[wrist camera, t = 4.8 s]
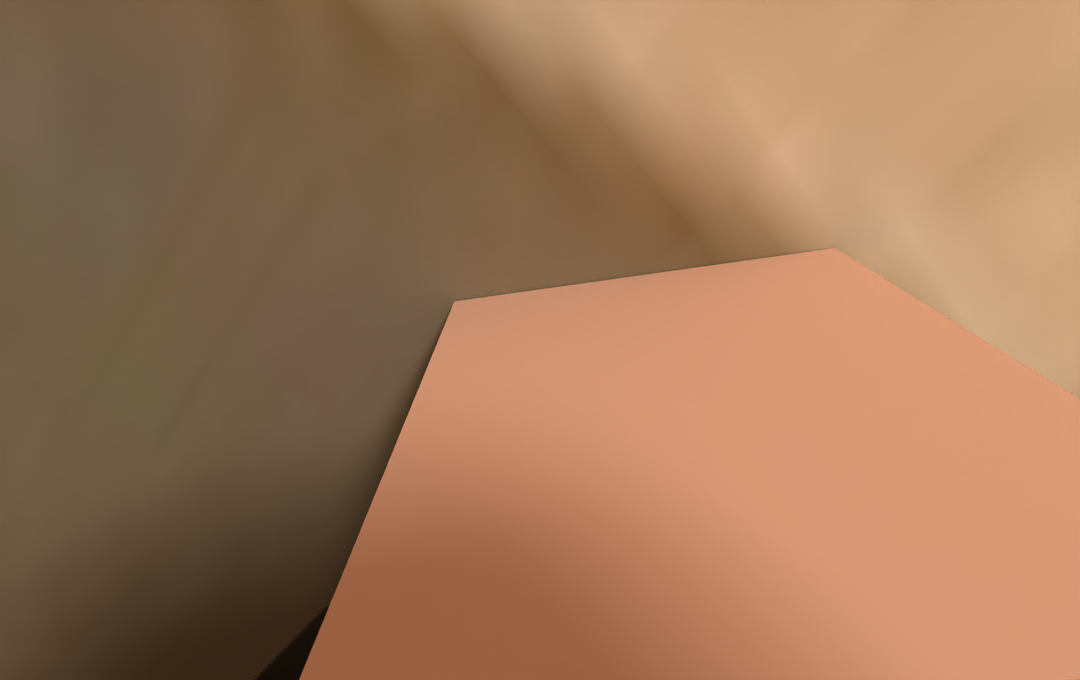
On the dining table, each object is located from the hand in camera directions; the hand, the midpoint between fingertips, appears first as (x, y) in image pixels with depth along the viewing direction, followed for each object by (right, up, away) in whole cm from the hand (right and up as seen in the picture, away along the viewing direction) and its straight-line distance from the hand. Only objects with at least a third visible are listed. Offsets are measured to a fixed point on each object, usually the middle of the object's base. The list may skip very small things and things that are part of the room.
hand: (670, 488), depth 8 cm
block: (0, +1, +1) cm, 1 cm away
